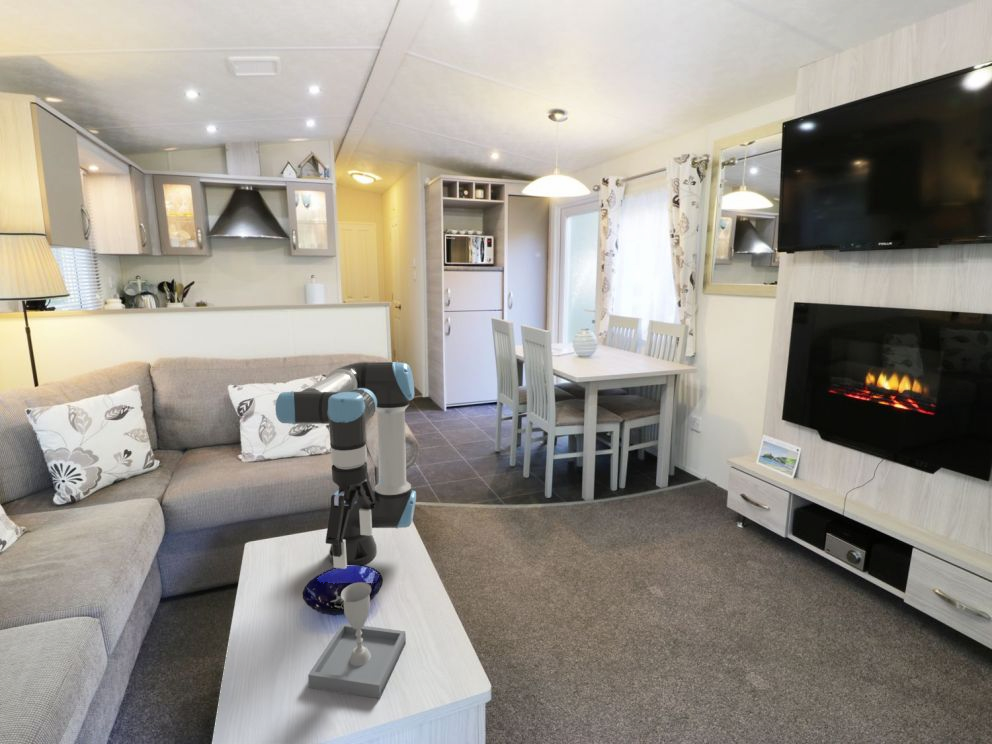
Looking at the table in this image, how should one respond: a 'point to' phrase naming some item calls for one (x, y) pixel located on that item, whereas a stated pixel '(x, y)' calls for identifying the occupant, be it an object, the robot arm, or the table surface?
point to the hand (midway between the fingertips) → (354, 550)
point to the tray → (358, 680)
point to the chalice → (357, 617)
